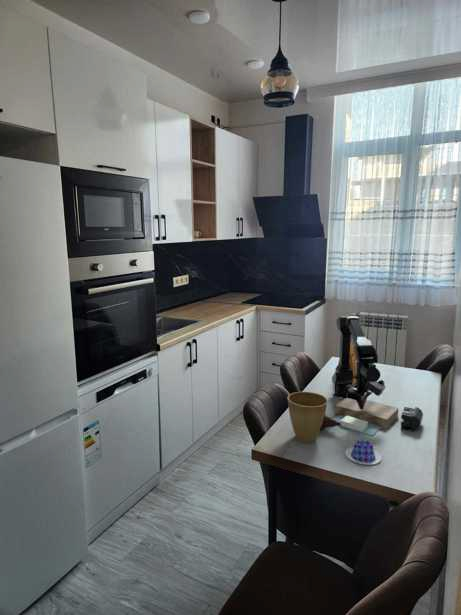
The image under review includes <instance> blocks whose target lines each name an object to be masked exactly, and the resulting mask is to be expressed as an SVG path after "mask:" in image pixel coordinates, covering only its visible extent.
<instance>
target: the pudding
mask: <svg viewBox="0 0 461 615" xmlns="http://www.w3.org/2000/svg"><path fill="white" fill-rule="evenodd" d="M373 446H374V445H373V443H372V442H370V441H368V440H364V439H357V440H356V441H355V443H354V445H353V446H351V447H348V448H347V449H346V450H345V456H346V457H347V458H348V459H349V460H350V461H352V462H355V463H357V464H360V465H367V466H370V465H376V464H379V463H380V462H381V461H382V455H381V454H380V453H379V452H378V451H377V450H376V449H375V450H374V447H373Z"/></svg>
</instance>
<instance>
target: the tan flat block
mask: <svg viewBox="0 0 461 615" xmlns="http://www.w3.org/2000/svg"><path fill="white" fill-rule="evenodd" d="M335 415H337V416H338V415H342V416H350V417H353V418H357V419H360V420H364V421H367V422H368V423H370V424H373V425H377V426H380V427H381V428H383V429H388V428H389V427H390V426H391V425H392V423H394V422H395V421H396V420H397V419H398V418H399V407H396V406H391V405H388V404H385V403H379V402H376V401H372V400H368V399H367V400H366V403H365V405H364V408H363V410H361V409H360V408H359V406H358V403H357V401H356V400H354V399H350V398H345V399H344V398H343V399H342V400H341V401H340V402H338V403H337V404H335Z"/></svg>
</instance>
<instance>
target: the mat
mask: <svg viewBox="0 0 461 615" xmlns="http://www.w3.org/2000/svg"><path fill="white" fill-rule="evenodd" d="M344 417H345V416H342V415H338V414H337V416H336V417H334V418H332V419H333V420H335V421H337V422H339V423H340V420H342V419H343V418H344ZM339 427H342V428H344V429H348V430H350V431H353V432H357V433H361V434H364V435H367V436H371V437H373V436H374V435H375V434H376V433H378V431H380V429H381V428H382V427H380V426H377V425H373V424H370V423H368V426H367V427H366V428H365V429H364V430H363V431H362V432H361V431H358V430H355V429H351V428H348V427H345V426H341V425H339Z"/></svg>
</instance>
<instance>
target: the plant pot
mask: <svg viewBox="0 0 461 615" xmlns="http://www.w3.org/2000/svg"><path fill="white" fill-rule="evenodd" d="M287 405H288V406H287V407H288V412H289V413H288V414H289V418H290V422H291V426H292V430H293V433H294V435H295V438H296V439H297V441H300V442H302V443H312V442H315V440H316V439H317V437H318V435H319V433H320V431H321V430H320V428H321V425H322V422H323V419H324V416H325V415H326V411H327V406H328V399H327V397H326V396H325V395H323V394H320V393H316V392H312V391H311V392H310V391H297V392H293V393H290V394H288V396H287Z"/></svg>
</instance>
